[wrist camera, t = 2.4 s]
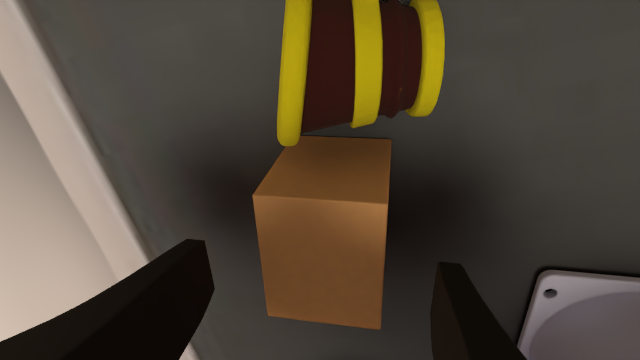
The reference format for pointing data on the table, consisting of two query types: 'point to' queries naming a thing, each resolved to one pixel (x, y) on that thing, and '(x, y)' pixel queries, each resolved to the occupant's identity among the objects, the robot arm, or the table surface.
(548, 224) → the table surface
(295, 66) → the opera glasses
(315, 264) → the brown rectangular block
